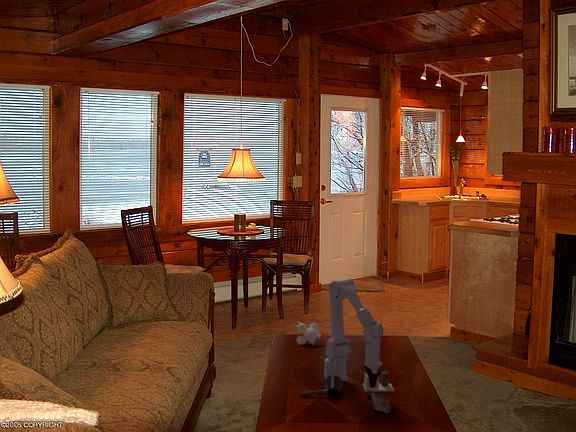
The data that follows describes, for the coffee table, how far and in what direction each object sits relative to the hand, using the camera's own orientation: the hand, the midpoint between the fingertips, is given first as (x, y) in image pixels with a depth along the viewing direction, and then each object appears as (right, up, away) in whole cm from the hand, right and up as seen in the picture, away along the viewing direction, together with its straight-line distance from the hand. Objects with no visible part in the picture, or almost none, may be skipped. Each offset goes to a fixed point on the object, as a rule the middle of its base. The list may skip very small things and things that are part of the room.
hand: (371, 384), depth 299 cm
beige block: (0, -1, 0) cm, 2 cm away
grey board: (+4, -3, +8) cm, 9 cm away
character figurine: (-24, +4, +72) cm, 76 cm away
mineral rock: (+2, -6, -14) cm, 15 cm away
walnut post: (+7, -3, +10) cm, 13 cm away
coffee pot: (-21, -4, 0) cm, 21 cm away
